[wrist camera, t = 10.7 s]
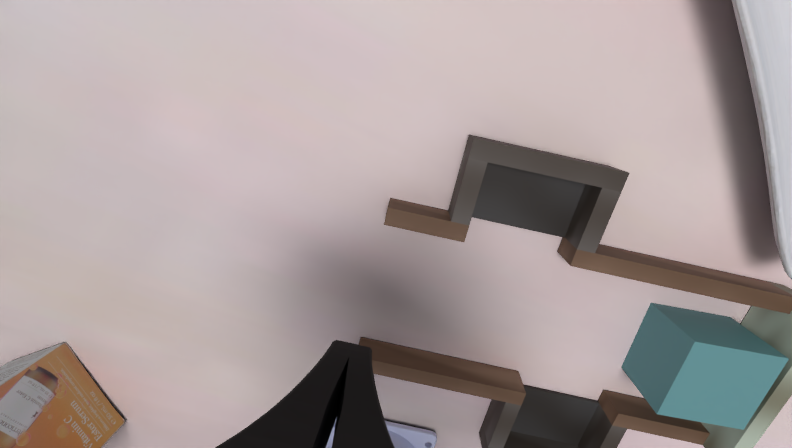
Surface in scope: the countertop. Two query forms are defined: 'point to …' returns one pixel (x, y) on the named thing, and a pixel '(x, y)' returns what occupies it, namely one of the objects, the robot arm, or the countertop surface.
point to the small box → (53, 403)
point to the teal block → (701, 366)
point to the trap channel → (582, 231)
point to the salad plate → (772, 103)
